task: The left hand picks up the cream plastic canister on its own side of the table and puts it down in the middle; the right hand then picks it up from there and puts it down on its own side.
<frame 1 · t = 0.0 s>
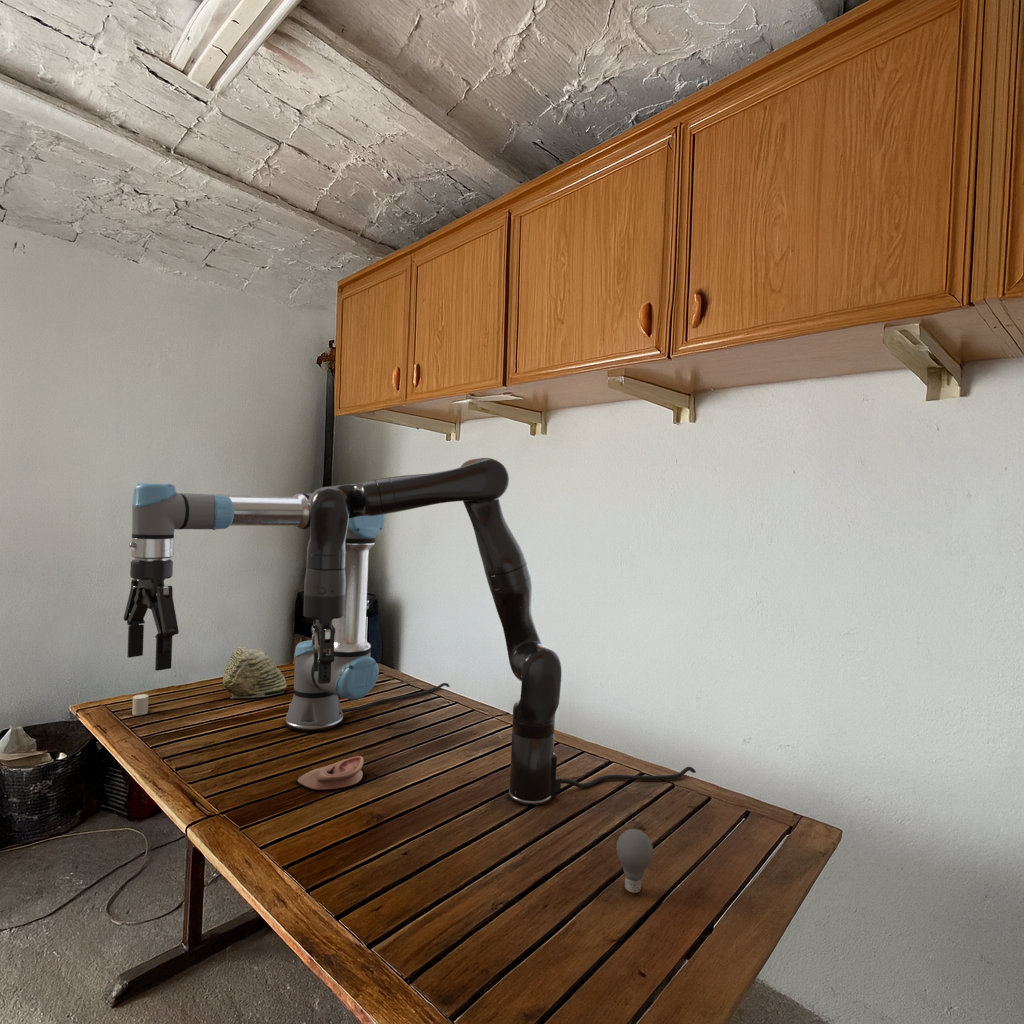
left hand: (148, 662, 129), 28 cm above the table, tool pointing down, fingers open, 13 cm apart
right hand: (321, 676, 120), 29 cm above the table, tool pointing down, fingers open, 8 cm apart
canister: (140, 713, 178), on the table
anatomical model: (330, 779, 142), on the table
light bulb: (632, 891, 106), on the table
fossil: (254, 694, 198), on the table
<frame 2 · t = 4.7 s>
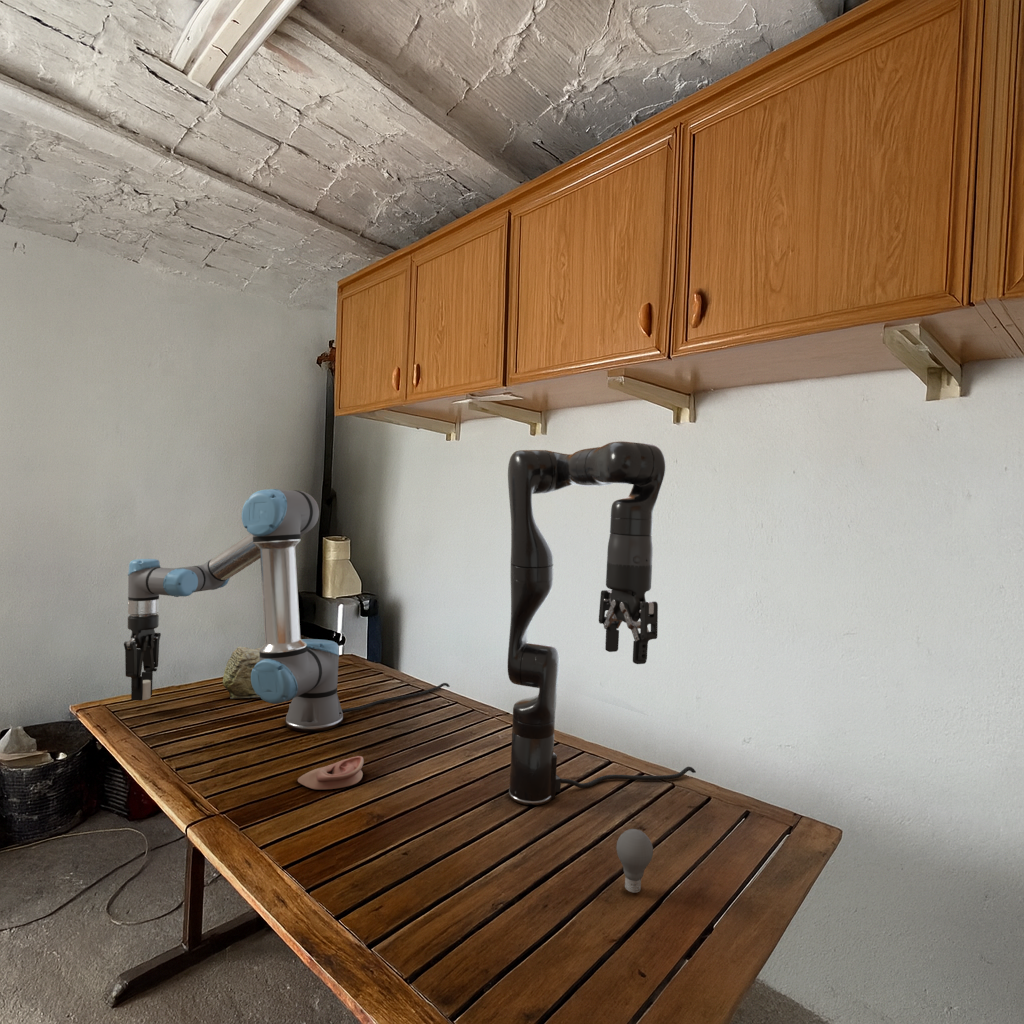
left hand: (141, 697, 178), 5 cm above the table, tool pointing down, fingers closed on canister, 4 cm apart
right hand: (624, 657, 107), 39 cm above the table, tool pointing down, fingers open, 8 cm apart
canister: (142, 698, 178), point 4 cm above the table, touching left hand
everything else where it was.
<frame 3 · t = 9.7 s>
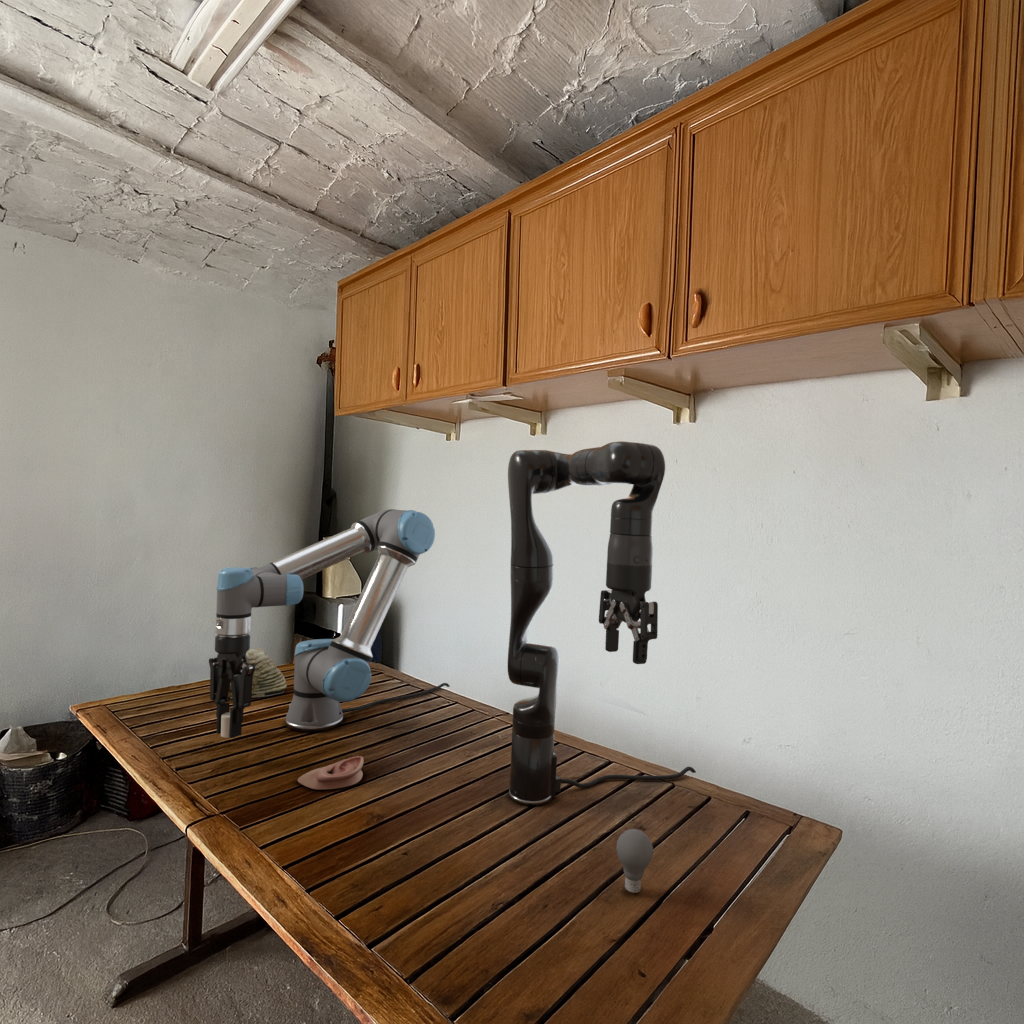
left hand: (228, 733, 148), 7 cm above the table, tool pointing down, fingers closed on canister, 4 cm apart
right hand: (624, 657, 107), 39 cm above the table, tool pointing down, fingers open, 8 cm apart
canister: (229, 734, 148), point 7 cm above the table, touching left hand
everything else where it was.
when the left hand's fingers open (0 cm above the table, at t = 14.9 s): canister stays where it is, on the table.
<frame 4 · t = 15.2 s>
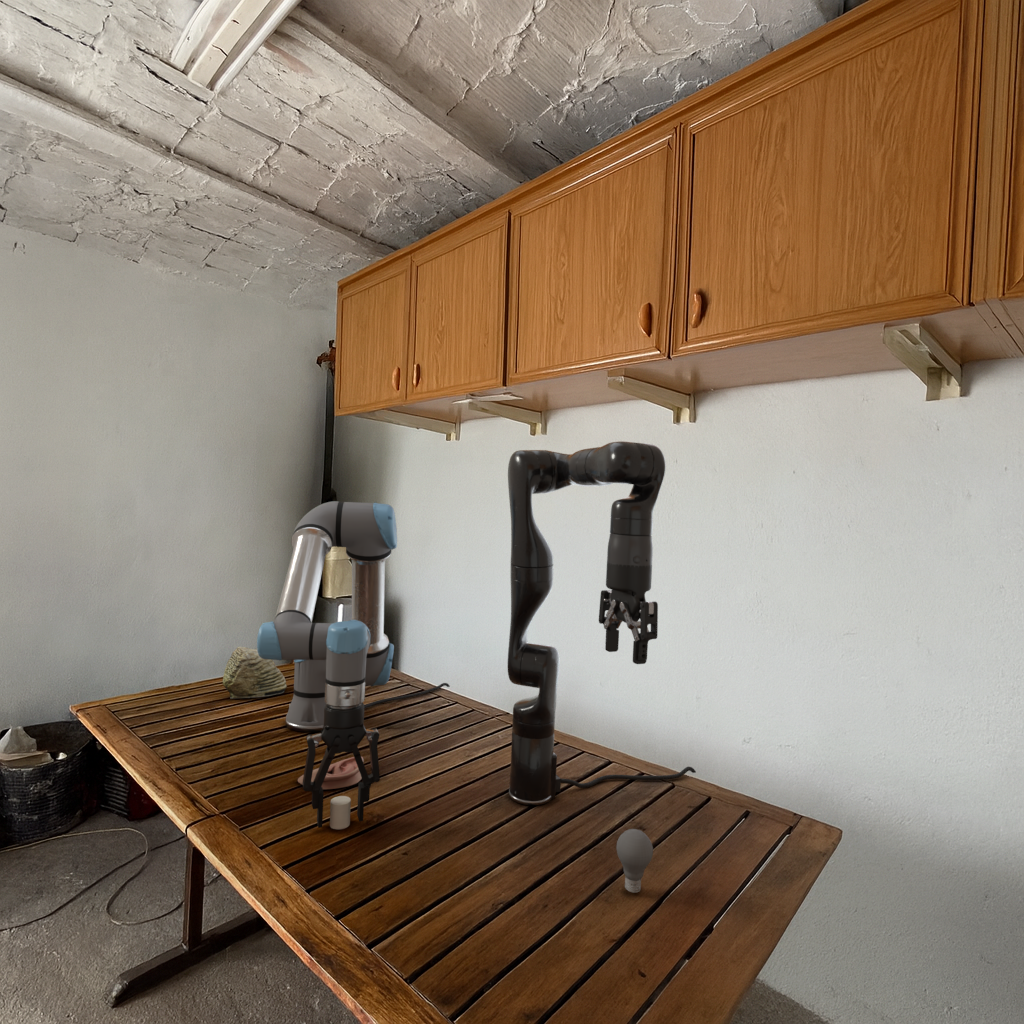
left hand: (340, 820, 123), 1 cm above the table, tool pointing down, fingers open, 7 cm apart
right hand: (624, 657, 107), 39 cm above the table, tool pointing down, fingers open, 8 cm apart
canister: (339, 824, 123), on the table
everything else where it was.
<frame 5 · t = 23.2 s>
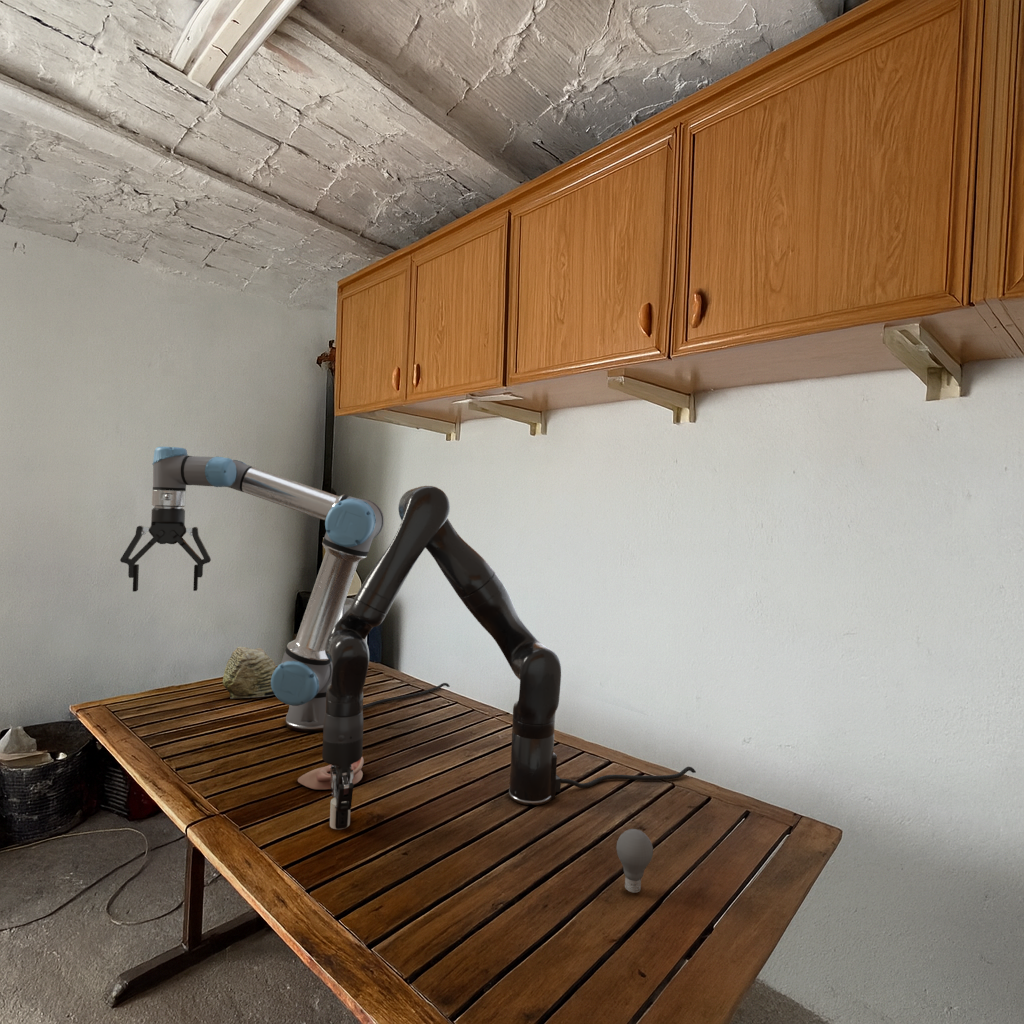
left hand: (165, 590, 162), 37 cm above the table, tool pointing down, fingers open, 13 cm apart
right hand: (339, 821, 123), 1 cm above the table, tool pointing down, fingers closed on canister, 3 cm apart
canister: (339, 824, 123), on the table, touching right hand
everything else where it was.
when the right hand's fingers open (1 cm above the table, at t = 34.4 s): canister stays where it is, on the table.
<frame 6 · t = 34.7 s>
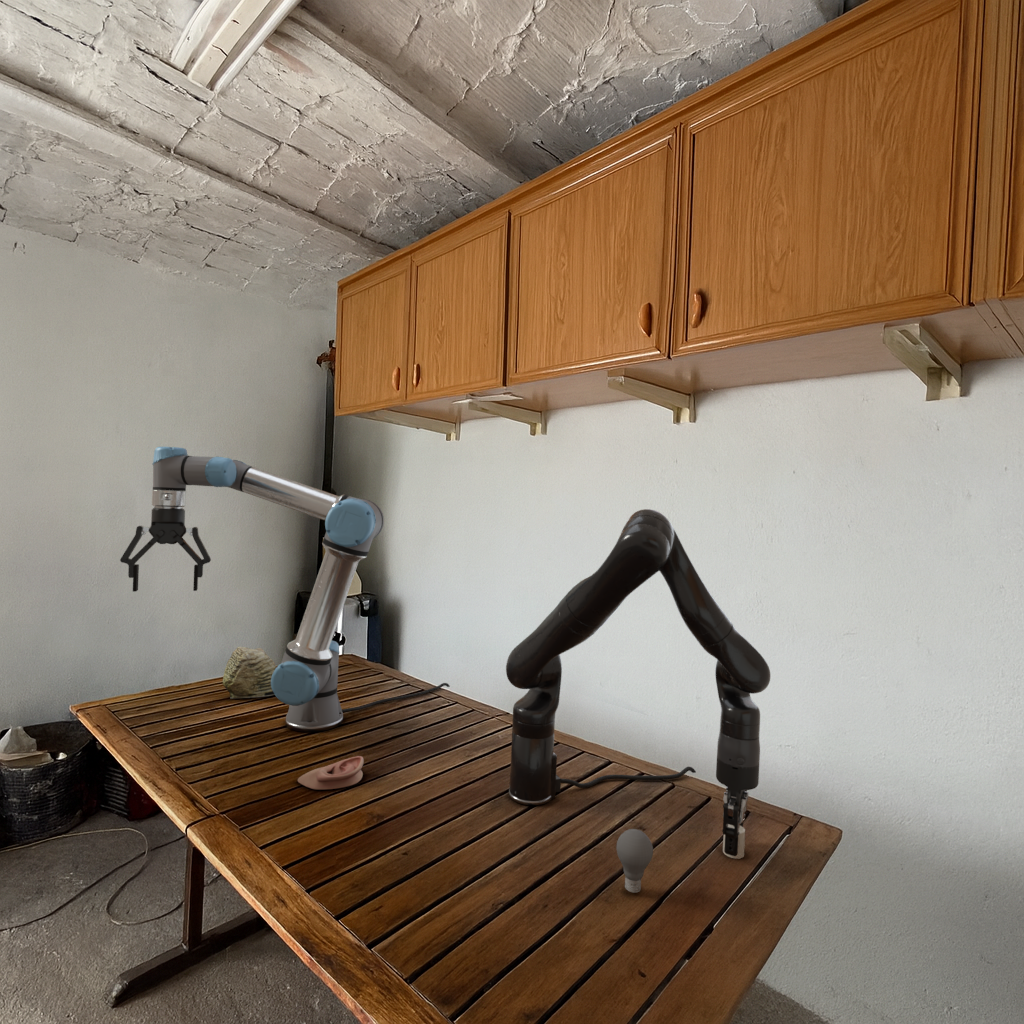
left hand: (165, 590, 162), 37 cm above the table, tool pointing down, fingers open, 13 cm apart
right hand: (733, 845, 119), 1 cm above the table, tool pointing down, fingers open, 6 cm apart
canister: (733, 853, 119), on the table
everything else where it was.
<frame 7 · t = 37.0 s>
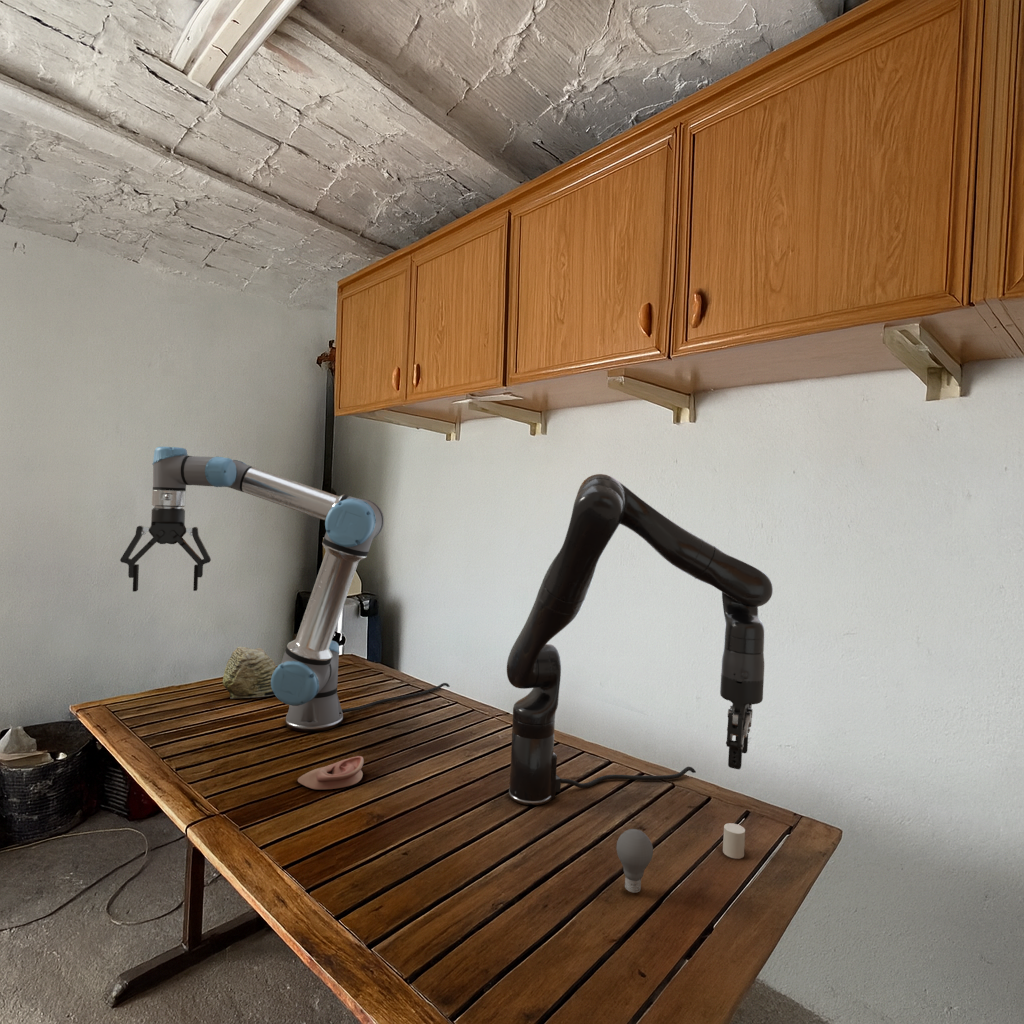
left hand: (165, 590, 162), 37 cm above the table, tool pointing down, fingers open, 13 cm apart
right hand: (737, 759, 119), 18 cm above the table, tool pointing down, fingers open, 8 cm apart
nothing on the table moved.
at the end: canister inside the target area (0.0 cm from its centre), on the table; canister tilted 0°; the two hands never held the canister at the same time; the left hand is holding nothing; the right hand is holding nothing; canister at rest at the end (0.0 cm/s) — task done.
